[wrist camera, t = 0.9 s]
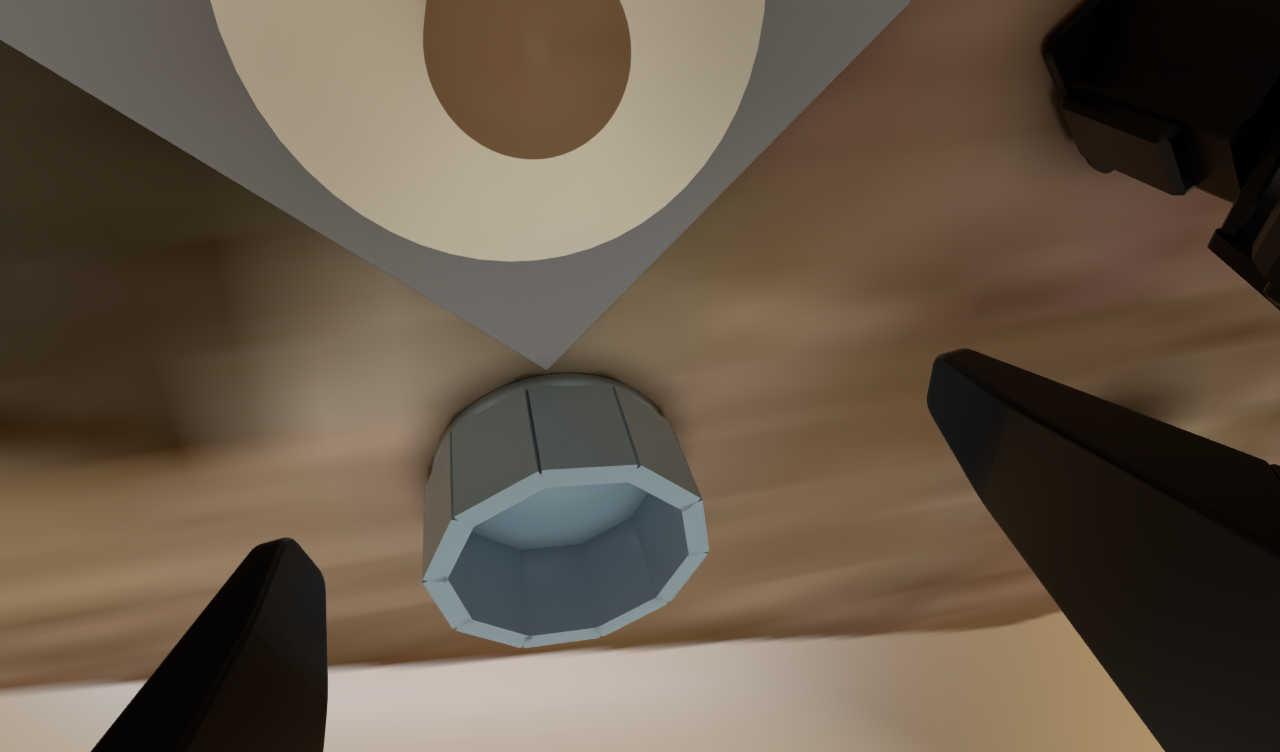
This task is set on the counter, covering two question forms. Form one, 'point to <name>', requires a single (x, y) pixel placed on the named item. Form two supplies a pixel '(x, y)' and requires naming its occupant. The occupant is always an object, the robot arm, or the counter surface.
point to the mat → (469, 288)
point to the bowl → (559, 512)
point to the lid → (497, 109)
